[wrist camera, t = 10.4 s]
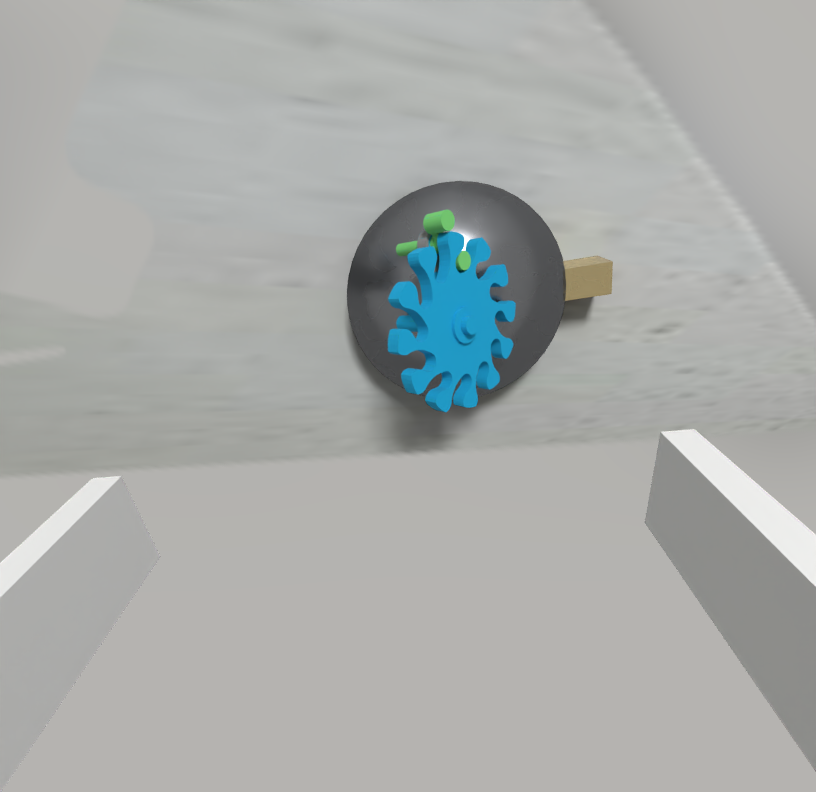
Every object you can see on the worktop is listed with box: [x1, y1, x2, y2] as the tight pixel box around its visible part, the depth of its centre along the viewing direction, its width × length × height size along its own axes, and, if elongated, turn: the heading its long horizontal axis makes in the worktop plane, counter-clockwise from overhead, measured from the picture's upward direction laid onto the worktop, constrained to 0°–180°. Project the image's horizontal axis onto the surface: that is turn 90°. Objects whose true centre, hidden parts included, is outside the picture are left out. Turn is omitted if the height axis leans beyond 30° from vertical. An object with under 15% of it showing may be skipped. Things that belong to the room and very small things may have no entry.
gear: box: [388, 210, 516, 412], centre depth 26 cm, size 11×6×10 cm
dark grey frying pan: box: [347, 181, 613, 400], centre depth 29 cm, size 17×14×2 cm
